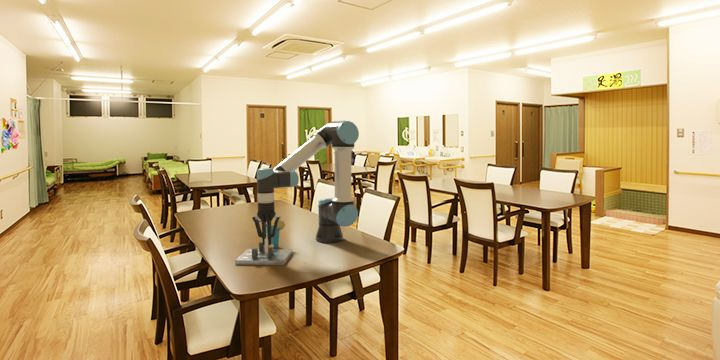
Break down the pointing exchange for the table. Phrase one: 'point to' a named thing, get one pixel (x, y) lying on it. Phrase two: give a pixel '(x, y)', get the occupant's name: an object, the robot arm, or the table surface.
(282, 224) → the cup
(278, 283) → the table surface
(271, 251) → the block
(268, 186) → the robot arm
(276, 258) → the panel
